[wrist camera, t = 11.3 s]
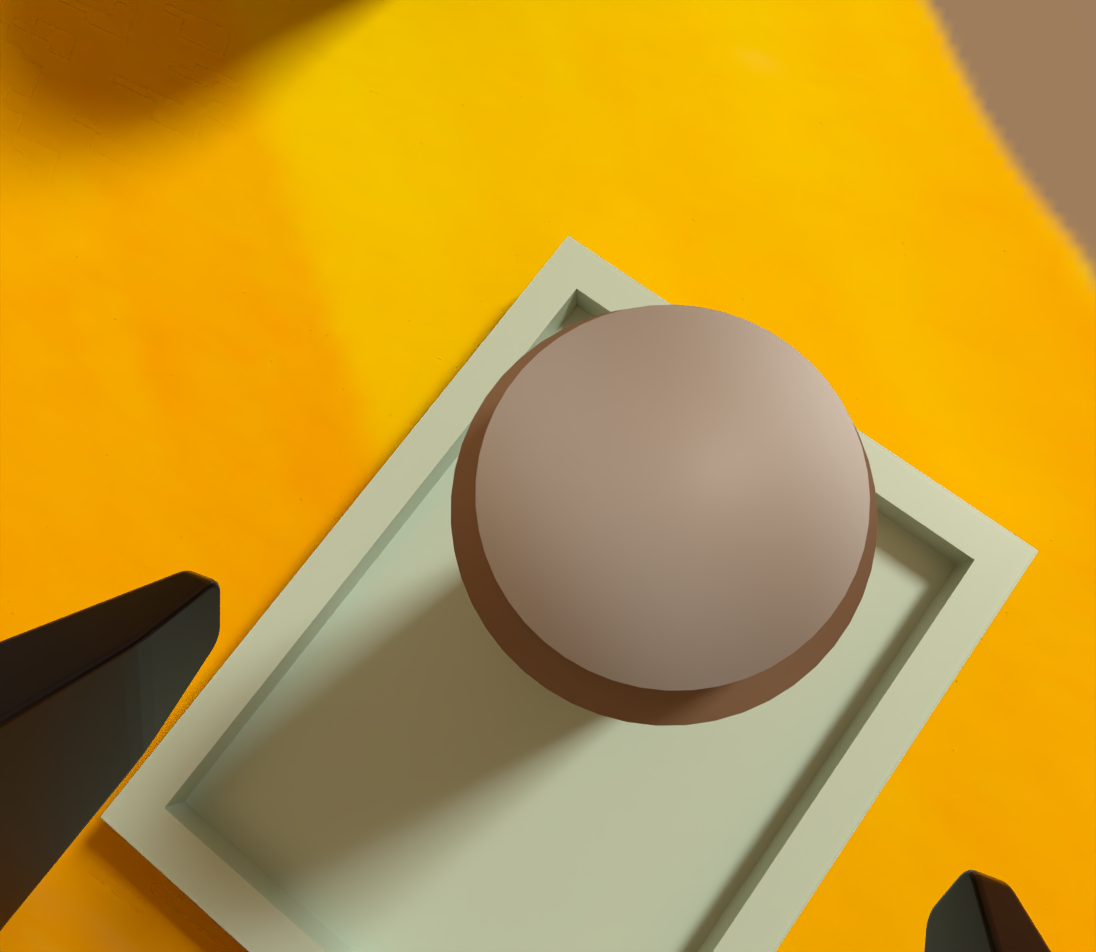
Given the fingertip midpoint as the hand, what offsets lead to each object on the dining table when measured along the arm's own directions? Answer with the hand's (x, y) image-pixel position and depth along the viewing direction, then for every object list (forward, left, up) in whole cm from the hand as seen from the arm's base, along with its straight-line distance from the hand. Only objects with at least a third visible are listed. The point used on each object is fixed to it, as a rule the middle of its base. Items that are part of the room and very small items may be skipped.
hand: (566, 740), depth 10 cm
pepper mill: (+3, +1, -10) cm, 11 cm away
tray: (0, 0, -11) cm, 11 cm away
